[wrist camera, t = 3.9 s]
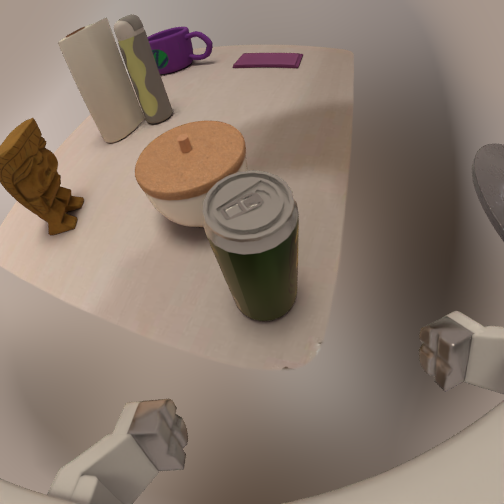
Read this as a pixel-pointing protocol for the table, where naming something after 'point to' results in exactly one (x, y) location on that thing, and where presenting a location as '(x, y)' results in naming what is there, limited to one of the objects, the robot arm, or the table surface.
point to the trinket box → (189, 167)
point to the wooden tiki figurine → (36, 178)
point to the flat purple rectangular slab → (269, 60)
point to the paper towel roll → (102, 80)
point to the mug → (176, 49)
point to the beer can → (255, 241)
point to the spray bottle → (142, 69)
